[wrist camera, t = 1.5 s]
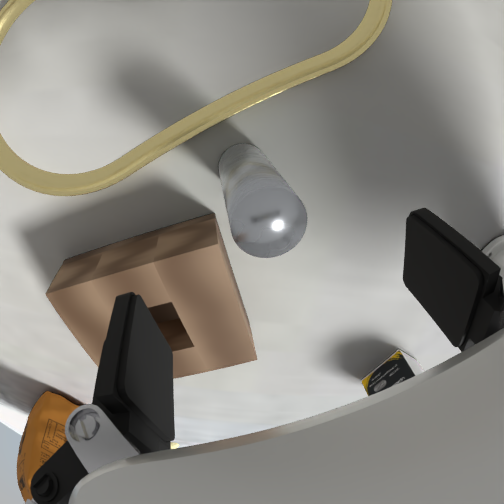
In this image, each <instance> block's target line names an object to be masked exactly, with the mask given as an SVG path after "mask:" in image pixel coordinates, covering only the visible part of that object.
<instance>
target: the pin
mask: <svg viewBox="0 0 504 504" xmlns="http://www.w3.org/2000/svg"><path fill="white" fill-rule="evenodd" d="M219 174H220V179H221V184H222V189H223V194H224V199H225V204H226V209H227V213H228V218H229V223H230V228H231V233H232V236H233V239H234V241H235V242H236V244H237V245H238V246H239V247H240V248H241V249H242V250H243V251H244V252H246V253H248V254H250V255H252V256H255V257H261V258H270V257H276V256H279V255H282V254H284V253H286V252H288V251H289V250H291V249H292V248H293V247H295V246H296V245H297V244H298V242H299V241H300V240H301V238H302V237H303V235H304V233H305V230H306V226H307V213H306V209H305V207H304V205H303V203H302V201H301V200H300V199H299V197H298V196H297V195H296V194H295V192H294V191H293V190H292V189H291V187H290V186H289V185H288V184H287V182H286V181H285V180H284V179H283V177H282V176H281V175H280V174H279V172H278V171H277V170H276V169H275V167H274V166H273V165H272V164H271V163H270V161H269V160H268V159H267V158H266V156H265V155H264V154H263V153H262V152H261V150H259V149H258V148H257V147H255V146H253V145H250V144H244V143H243V144H236V145H234V146H231V147H230V148H228V149H227V150H226V151H225V152H224V153H223V155H222V156H221V158H220V161H219Z"/></svg>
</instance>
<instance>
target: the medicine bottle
mask: <svg viewBox="0 0 504 504" xmlns="http://www.w3.org/2000/svg"><path fill="white" fill-rule="evenodd" d="M423 372H425V371H424V369H423V368H422V366H421V365H420V363H419V362H418V361H417V360H415V359H414V358H412V357H411V356H409V355H407V354H406V353H404V352H403V351H401V350H397V351H396V352H395V353H393V354H392V355H391V356H390V357H389V358H388V359H386V360H385V361H384V362H383V363H382V364H380V365H379V366H378V367H377V368H376V369H374V370H373V371H372V372H371V373H369V374H368V375H367V376H366V377H364V378H363V379H362V384H363V386H364V388H365V390H366V392H367V394H368V396H370V395H373V394H375V393H378V392H380V391H383V390H385V389H387V388H390V387H392V386H394V385H397V384H399V383H401V382H403V381H405V380H408V379H410V378H412V377H414V376H416V375H418V374H421V373H423Z"/></svg>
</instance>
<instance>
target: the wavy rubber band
mask: <svg viewBox="0 0 504 504" xmlns="http://www.w3.org/2000/svg"><path fill="white" fill-rule="evenodd" d="M34 1H35V0H9V1H8V2H7V3H6V4H5V6H4V7H3V8H2V9H1V11H0V45H1V43H2V41H3V39H4V37H5V35H6V33H7V32H8V30H9V29H10V27H11V26H12V24H13V23H14V22H15V20H16V19H17V18H18V17H19V15H20V14H21V13H22V12H23V11H24V10H25V9H26V8H27V7H28V6H29V5H30V4H31V3H32V2H34ZM391 6H392V0H370V2H369V5H368V9H367V11H366V14H365V16H364V18H363V20H362V22H361V23H360V25H359V26H358V27H357V29H356V30H355V31H354V32H353V33H352V34H351V35H350V36H349V37H348V38H347V39H346V40H345V41H343V42H342V43H341V44H339V45H338V46H336V47H334V48H333V49H331V50H329V51H327V52H324V53H322V54H320V55H317V56H314V57H312V58H309V59H307V60H304V61H302V62H299V63H297V64H294V65H292V66H289V67H287V68H284V69H282V70H280V71H277V72H275V73H273V74H270V75H268V76H266V77H264V78H262V79H259V80H257V81H255V82H253V83H251V84H249V85H246V86H244V87H242V88H240V89H238V90H236V91H234V92H232V93H230V94H228V95H226V96H224V97H222V98H220V99H218V100H216V101H214V102H212V103H211V104H209V105H207V106H205V107H203V108H201V109H199V110H198V111H196V112H194V113H192V114H190V115H189V116H187V117H185V118H183V119H182V120H180V121H178V122H176V123H175V124H173V125H171V126H170V127H168V128H166V129H165V130H163V131H161V132H160V133H158V134H156V135H155V136H153V137H152V138H150V139H148V140H147V141H145V142H144V143H142V144H140V145H139V146H137V147H136V148H134V149H133V150H131V151H130V152H128V153H127V154H125V155H124V156H122V157H121V158H119V159H117V160H116V161H114V162H112V163H110V164H108V165H106V166H104V167H102V168H99V169H96V170H93V171H89V172H85V173H79V174H57V173H51V172H47V171H43V170H41V169H38V168H36V167H34V166H32V165H30V164H28V163H27V162H25V161H24V160H22V159H21V158H20V157H19V156H17V155H16V154H15V153H14V152H13V151H12V150H11V148H10V147H9V146H8V145H7V143H6V142H5V140H4V139H3V137H2V136H1V134H0V170H1V171H2V172H3V173H5V174H6V175H7V176H8V177H9V178H11V179H12V180H14V181H15V182H17V183H18V184H20V185H22V186H24V187H26V188H28V189H31V190H33V191H36V192H40V193H43V194H48V195H54V196H76V195H83V194H88V193H92V192H96V191H99V190H102V189H104V188H107V187H109V186H111V185H114V184H116V183H118V182H120V181H121V180H123V179H125V178H127V177H128V176H130V175H131V174H133V173H134V172H136V171H137V170H139V169H140V168H142V167H144V166H145V165H147V164H148V163H150V162H151V161H153V160H155V159H156V158H158V157H160V156H161V155H163V154H165V153H166V152H168V151H170V150H171V149H173V148H175V147H176V146H178V145H180V144H181V143H183V142H185V141H187V140H188V139H190V138H192V137H194V136H195V135H197V134H199V133H201V132H203V131H204V130H206V129H208V128H210V127H212V126H214V125H216V124H217V123H219V122H221V121H223V120H225V119H227V118H229V117H231V116H233V115H235V114H237V113H239V112H241V111H243V110H245V109H247V108H249V107H251V106H253V105H255V104H257V103H259V102H261V101H263V100H265V99H268V98H270V97H272V96H274V95H276V94H278V93H281V92H283V91H285V90H287V89H290V88H292V87H294V86H297V85H299V84H301V83H304V82H306V81H308V80H311V79H313V78H316V77H318V76H321V75H323V74H326V73H328V72H331V71H334V70H336V69H338V68H340V67H342V66H344V65H346V64H348V63H349V62H351V61H353V60H354V59H356V58H357V57H358V56H360V55H361V54H362V53H364V52H365V51H366V50H367V49H368V48H369V47H370V46H371V45H372V44H373V42H374V41H375V40H376V39H377V37H378V36H379V35H380V33H381V32H382V30H383V28H384V26H385V24H386V22H387V19H388V17H389V14H390V10H391Z"/></svg>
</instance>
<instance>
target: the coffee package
mask: <svg viewBox="0 0 504 504" xmlns="http://www.w3.org/2000/svg"><path fill="white" fill-rule="evenodd" d="M78 407H79V406H78V405H75V404H73V403H71V402H70V401H68V400H67V399H65V398H64V397H62V396H60V395H57V394H54V393H51V392H49V391H46V392H45V393H44V394H43V395H42V396H41V397H40V398H39V400H38V401H37V402H36V404H35V405H34V407H33V409H32V410H31V412H30V414H29V416H28V420H27V423H26V426H25V429H24V432H23V435H22V439H21V442H20V447H19V453H18V460H17V479H18V485H19V488H20V491H21V494H22V497H23V499H24V501H25V502H26V501H27V499H30V500H32V498H33V497H32V495H31V490H30V485H31V480H32V477H33V475H34V474H35V472H36V471H37V470H38V469H39V468H40V467H41V466H42V465H43V464H44V463H45V462H46V461H47V460H48V459H49V458H50V457H51V456H52V455H53V454H54V453H55V452H56V451H57V450H58V449H59V448H60V447H61V446H62V445H63V444H64V443H65V442H66V441H67V438H66V435H65V425H66V421H67V419H68V417H69V415H70V414H71V413H72V412H73V411H74V410H75V409H76V408H78Z"/></svg>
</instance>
